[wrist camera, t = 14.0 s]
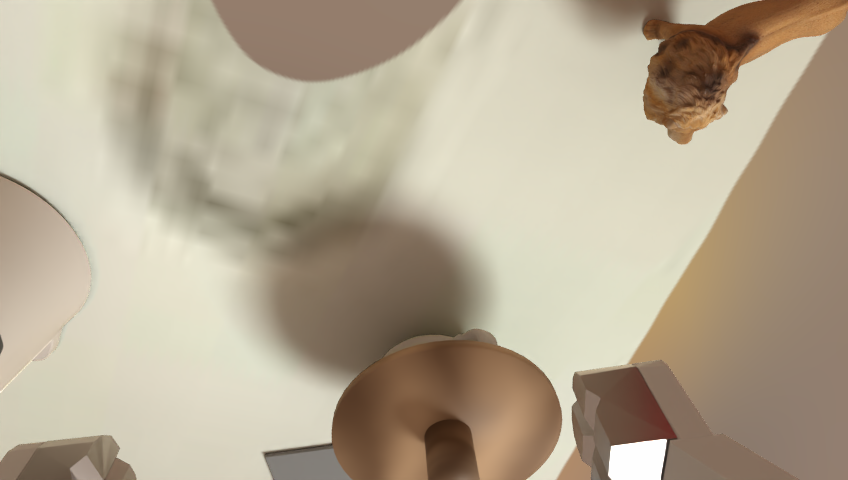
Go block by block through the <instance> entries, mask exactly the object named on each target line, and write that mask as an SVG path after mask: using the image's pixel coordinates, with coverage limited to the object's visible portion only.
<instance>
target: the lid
mask: <svg viewBox="0 0 848 480" xmlns="http://www.w3.org/2000/svg"><path fill="white" fill-rule="evenodd" d="M561 426H562V413H561V407H560V404H559V400H558V397H557V395H556V392H555V390H554V388H553V386H552V384H551V382H550V380H549V379H548V378H547V376H546V375H545V374H544V372H542V371H541V370H540V369H539V368H538V367H537V366H536V365H535V364H534V363H532V362H531V361H530V360H528V359H527V358H525V357H524V356H522V355H520V354H518V353H516V352H514V351H512V350H509V349H506V348H504V347H501V346H498V345H494V344H489V343H485V342H478V341H470V340H445V341H434V342H429V343H424V344H418V345H415V346H412V347H408V348H405V349H402V350H399V351H397V352H395V353H392V354H390V355H388V356H386V357H384V358H382V359H380V360H379V361H377V362H375V363H373V364H372V365H371V366H369V367H368V368H366V369H365V370H364V371H362V372H361V373H360V374H359V375H358V376H357V377H356V378H355V379H354V380H353V381H352V382H351V383H350V385H349V386H348V387H347V388H346V389H345V391H344V392H343V394H342V396H341V398H340V399H339V401H338V404H337V406H336V409H335V412H334V417H333V423H332V445H333V449H334V453H335V456H336V458H337V460H338V462H339V464H340V465H341V467H342V468H343V470H344V471H345V472H346V473H347V475H348V476H349V477H350V478H351V479H352V480H526V479H527V478H529V477H530V476H531V475H532V474H534V473H535V472H536V471H537V470H538V469H539V468H540V467H541V466H542V465H543V464H544V463H545V461H546V460H547V459H548V458H549V456H550V455H551V453H552V452H553V450H554V448H555V446H556V444H557V442H558V439H559V436H560V432H561Z"/></svg>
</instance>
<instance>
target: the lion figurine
mask: <svg viewBox="0 0 848 480" xmlns="http://www.w3.org/2000/svg"><path fill="white" fill-rule="evenodd" d="M847 10H848V0H762V1H756V2H752V3H747V4H744V5H741V6H738V7H736V8H734V9H731V10H729V11H727V12H725V13H723V14H721V15H719V16H718V17H716V18H715V19H713V20H712V21H710V22H709V23H707V24H706V25H695V24H674V23H669V22H666V21H661V20H650V21H648V22H647V24H646V25H645V27H644V32H643V34H644V35H645V37H646V39H647V40H652V39H658V40H659V39H665V41H663V42H661V43H660V45H659V48H658V53H657V54H655V55H653V56H652V57H651V60H650V64H649V65H648V72H649V77H648V78H647V83H646V85H645V89H644V92H643V94H644V96H643V101H644V112H645V115H646V118H647V119H648V120H652V121H655V122H656V123H658V124H660V125H664V126H665V127H666V128H667V129H668V136H669V137H670V138H671V139H672V140H674V141H676V142H677V143H678V144H687V143H689V142H690V141H691V139H692V135H693V133H694V131H697V130H699V129H703V128H705V127H706V126H707V125H708V124H709V123H711V122H713V121H714V120H718V119H720V118H722V116H723V115H725V114H726V113H727V112H728V110H727V108H726V107H725V106H724V105H723V103H724V101H725V97H726V91H727V89H728V88H729V87H730V85H732V83H734V82H735V81H736V80H737V77H738V69H739V67H740V66H741V65H743V64H746V63H748V62H750V61H752V60H754V59H756V58H758V57H760V56H762V55H764V54H766V53H768V52H769V51H771V50H772V49H774V48H776V47H778V46H779V45H781V44H783V43H785V42H788V41H790V40H793V39H796V38H800V37H810V36H819V35H823V34H825V33H827V32H829V31H831V30H832V29H834V28H835V27H836V26H837V25H839V24H840V23H841V22H842V21H843V20H844V19H845V16H846V13H847Z"/></svg>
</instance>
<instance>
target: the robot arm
mask: <svg viewBox="0 0 848 480" xmlns="http://www.w3.org/2000/svg"><path fill="white" fill-rule="evenodd" d="M90 287H91V269H90V264H89V260H88V257H87V254H86V251H85V249H84V247H83V245H82V243H81V241H80V239H79V238H78V236H77V235H76V233H75V232H74V230H73V229H72V228H71V226H70V225H69V224H68V223H67V222H66V220H65V219H64V218H63V217H62V216H61V215H60V214H59V213H58V212H57V211H56V210H55V209H53V208H52V207H51V206H50V205H49V204H48V203H46V202H45V201H44V200H42V199H41V198H40V197H38V196H37V195H35V194H34V193H32V192H31V191H29V190H27V189H26V188H24V187H22V186H20V185H18V184H16V183H14V182H12V181H10V180H8V179H6V178H3V177H1V176H0V392H1V391H2V390H3V389H4V388H5V387H6V386H7V385H8V384H9V383H10V382H11V381H12V380H13V379H14V378H15V377H16V376H17V375H18V374H19V373H20V372H21V371H22V370H23V369H24V368H25V367H26V366H27V365H28V364H29V363H30V362H31V361H41V360H44V359H46V358H47V357H48V356H49V355H50V354H51V353H52V352H53V351H54V350H55V349H56V348H57V346H58V343H59V340H60V335H61V330H62V328H63V327H64V325H65V324H66V323H67V322H68V321H69V320H71V319H72V318H73V317H74V316H75V315H76V314H77V313H78V312H79V311H80V309H81V308H82V307H83V305H84V304H85V302H86V300H87V298H88V295H89V292H90ZM573 391H574V393H575V396H576V398H577V401H576V402H575V403H574V404H573V406H572V424H573V431H574V437H575V440H576V444H577V448H578V450H579V453H580V456H581V459H582V461H583V462H585V463H586V464H587V465H589V466H590V467H591V468H592V470H591V471H592V472H591V480H799V479H798V478H796V477H794V476H793V475H791V474H789V473H788V472H786V471H784V470H783V469H781V468H779V467H778V466H776V465H774V464H773V463H771V462H769V461H768V460H766V459H764V458H763V457H761V456H759V455H758V454H756V453H754V452H753V451H751V450H749V449H748V448H746V447H744V446H743V445H741V444H739V443H738V442H736V441H734V440H732V439H731V438H729V437H727V436H726V435H724V434H714V435H713V433H712V432H711V430H710V429H709V427H708V425H707V424H706V422H705V421H704V419H703V418H702V416H701V415H700V413H699V412H698V410H697V409H696V407H695V406H694V404H693V403H692V401H691V400H690V398H689V397H688V395H687V394H686V392H685V391H684V389H683V388H682V386H681V385H680V383H679V382H678V380H677V379H676V377H675V376H674V374H673V372H672V371H671V369H670V368H669V366H668V365H667V364H666V363H665V362H664V361H662V360H656V361H649V362H642V363H635V364H632V365H630V364H627V365H620V366H613V367H606V368H599V369H592V370H585V371H578V372H575V373H574V376H573ZM119 449H120V447H119V446H118V445H117V443H116V442H115V440H114V439H113V437H112V436H108V435H100V436H91V437H81V438H72V439H62V440H53V441H47V442H39V443H30V444H21V445H18V446H16V447H14V448H13V449H11V450H10V451H8V452H7V454H6V455H5V456H4V458H3V459H2V461H1V462H0V480H136V475H135V473H134V471H133V469H132V468H131V466H130V465H129V464H127V463H126V462H124V461H122V460H120V459H118V458H116V457H117V454H118V452H119Z"/></svg>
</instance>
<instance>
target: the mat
mask: <svg viewBox="0 0 848 480" xmlns="http://www.w3.org/2000/svg"><path fill="white" fill-rule="evenodd" d="M265 458H266V461H267V463H268V466H269V468H270V471H271V473H272V476H273V478H274V480H352V479H351V478H350V477H349V476H348V475H347V473H346V472H345V471H344V470H343V468H342V467H341V465H340V464H339V462H338V460H337V458H336V456H335V453H334V449H333V445H330V446H322V447H315V448H307V449H300V450H292V451H285V452H277V453H269V454H266V456H265Z"/></svg>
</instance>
